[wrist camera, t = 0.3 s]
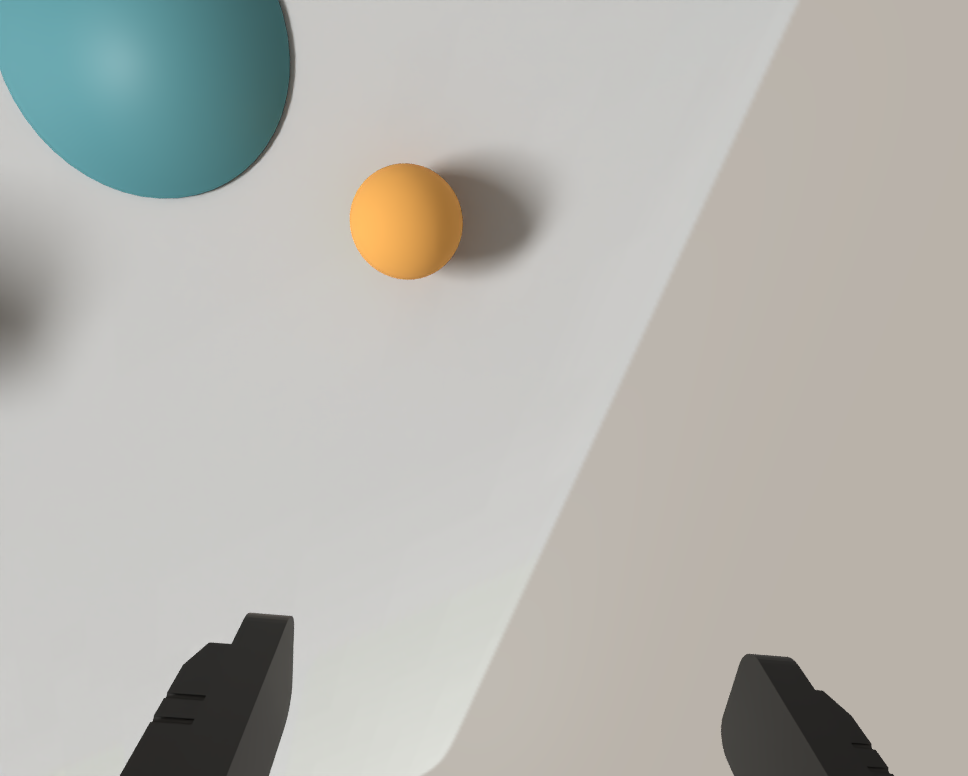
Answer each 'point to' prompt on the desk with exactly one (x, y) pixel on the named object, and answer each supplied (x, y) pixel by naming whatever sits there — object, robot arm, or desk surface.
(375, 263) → the ball
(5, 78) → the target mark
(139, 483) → the desk surface
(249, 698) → the robot arm
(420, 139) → the desk surface
